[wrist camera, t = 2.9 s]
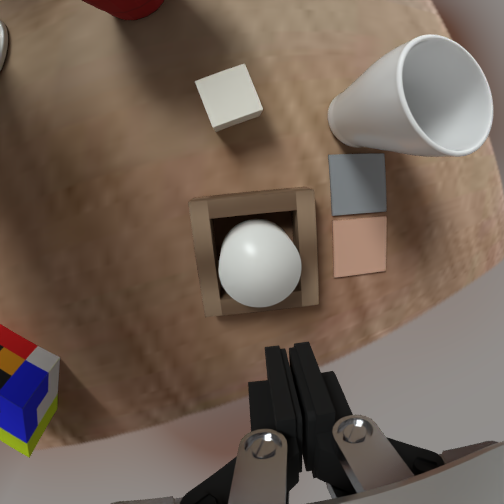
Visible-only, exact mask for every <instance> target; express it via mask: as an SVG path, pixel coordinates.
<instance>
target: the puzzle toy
mask: <svg viewBox="0 0 504 504" xmlns="http://www.w3.org/2000/svg"><path fill="white" fill-rule="evenodd" d="M59 365H60V357H58V356H56V355H54V354H52V353H50V352H48V351H47V350H45V349H43V348H41V347H39V346H37V345H35V344H34V343H32V342H30V341H28V340H26V339H25V338H23V337H21V336H19V335H18V334H16V333H14V332H13V331H11V330H9V329H8V328H6V327H4V326H3V325H1V324H0V440H1V441H2V442H4V443H6V444H7V445H9V446H10V447H12V448H14V449H15V450H17V451H19V452H21V453H22V454H24V455H26V456H28V457H30V456H31V454H32V452H33V450H34V448H35V447H36V445H37V443H38V441H39V439H40V438H41V436H42V434H43V432H44V431H45V429H46V427H47V425H48V424H49V422H50V420H51V419H52V417H53V415H54V413H55V412H56V410H57V401H58V379H59Z"/></svg>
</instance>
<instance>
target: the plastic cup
mask: <svg viewBox="0 0 504 504" xmlns="http://www.w3.org/2000/svg"><path fill="white" fill-rule="evenodd" d="M82 1H84V2H86V3H88V4H90V5H92V6H94V7H96V8H98V9H100V10H103V11H106V12H108V13H109V14H111V15H113V16H115V17H118V18H120V19H124V20H137V19H140V18H143V17H146V16H148V15H150V14H151V13H153V12H154V11H156V10H157V9H158V8H159V7H160V5H161V4H162V3H163V2H164V0H82Z"/></svg>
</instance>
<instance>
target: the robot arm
mask: <svg viewBox="0 0 504 504" xmlns="http://www.w3.org/2000/svg"><path fill="white" fill-rule="evenodd" d="M7 46H8V33H7V28H6V26H5V24H4V23H3V22H2V21H1V20H0V71H1V69H2V66H3V64H4V60H5V56H6V52H7ZM265 356H266V367H267V378H268V380H266V381H256V382H248V387H249V403H250V419H251V432H250V433H248V434H247V435H245V436H244V437H243V438H242V440H241V442H240V444H239V449H238V454H237V457H235V458H234V459H233V460H231V461H230V462H229V463H228V464H226V465H225V466H224V467H223V468H221V469H220V470H218V471H217V472H216V473H214V474H213V475H212V476H210V477H209V478H208V479H206V480H205V481H203V482H202V483H201V484H199V485H198V486H196V487H195V488H194V489H192V490H191V491H189V492H188V493H187V494H186V495H185V496H184V497H183V498H176V499H174V498H173V496H171V497H164V498H155V499H145V500H134V501H119V502H114V503H111V504H289V491H290V490H291V489H292V488H293V487H294V486H295V485H296V484H297V483H298V481H299V472H302V454H303V459H304V464H305V468H306V471H312V474H313V478H318V479H320V480H322V481H324V482H326V485H327V489H328V491H329V493H330V495H331V497H332V499H330V500H325V501H320V502H314V503H308V504H504V441H502V442H499V443H498V442H495V441H485V442H482V443H477V444H473V445H469V446H465V447H460V448H455V449H450V450H445V451H443V452H442V454H437V453H435V452H432V451H429V450H426V449H423V448H418V447H415V446H412V445H409V444H406V443H403V442H399V441H396V440H393V439H390V438H387V437H386V436H385V435H384V434H383V433H382V431H381V430H380V428H379V427H378V426H377V424H376V423H375V422H374V421H373V420H372V419H370V418H368V417H366V416H362V415H353V414H352V412H351V410H350V408H349V405H348V403H347V400H346V398H345V396H344V393H343V391H342V389H341V386H340V384H339V382H338V380H337V377H336V375H335V373H334V372H333V371H330V372H324V373H321V372H320V369H319V367H318V364H317V362H316V359H315V356H314V354H313V351H312V349H311V346H310V343H309V342H302V343H295V344H294V347H293V348H289V358H290V366H289V362H288V358H287V354H286V350H285V349H280V347H279V346H270V347H265Z"/></svg>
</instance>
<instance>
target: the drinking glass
mask: <svg viewBox="0 0 504 504" xmlns="http://www.w3.org/2000/svg"><path fill="white" fill-rule="evenodd" d="M492 121H493V101H492V95H491V91H490V87H489V84H488V82H487V79H486V77H485V75H484V73H483V71H482V69H481V68H480V66H479V65H478V63H477V62H476V60H475V59H474V58H473V57H472V56H471V55H470V53H469V52H468V51H466V50H465V49H464V48H463V47H462V46H460V45H459V44H458V43H456V42H454V41H453V40H451V39H448V38H446V37H443V36H439V35H422V36H419V37H416V38H414V39H412V40H410V41H408V42H406V43H404V44H402V45H400V46H398V47H396V48H394V49H393V50H391V51H389V52H388V53H386V54H385V55H384V56H382V57H381V58H379V59H378V60H377V61H376V62H374V63H373V64H372V65H371V66H370V67H369V68H368V69H367V70H366V71H365V72H364V73H362V74H361V75H360V76H359V77H358V78H357V79H356V80H355V81H354V82H353V83H352V84H351V85H350V86H349V87H348V88H346V89H345V90H344V91H343V92H341V93H340V94H338V95H337V96H336V97H335V98H334V99H333V100H332V102H331V104H330V106H329V109H328V123H329V126H330V129H331V131H332V132H333V134H334V135H335V137H336V138H337V139H338V140H340V141H341V142H342V143H344V144H346V145H348V146H351V147H358V148H360V147H366V148H373V149H379V150H385V151H391V152H396V153H401V154H407V155H414V156H424V157H454V156H455V157H460V156H466V155H469V154H471V153H473V152H475V151H476V150H477V149H479V148H480V147H481V146H482V145H483V143H484V142H485V141H486V139H487V137H488V135H489V132H490V129H491V126H492Z"/></svg>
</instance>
